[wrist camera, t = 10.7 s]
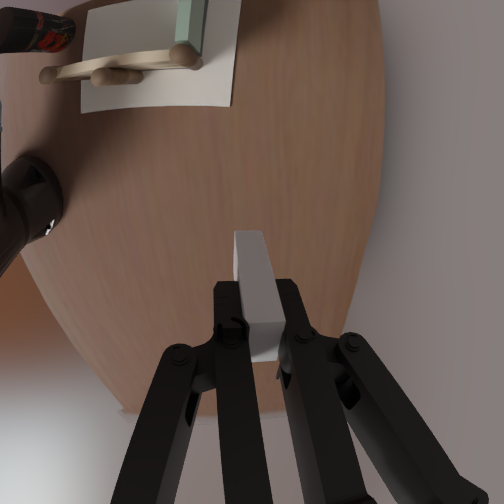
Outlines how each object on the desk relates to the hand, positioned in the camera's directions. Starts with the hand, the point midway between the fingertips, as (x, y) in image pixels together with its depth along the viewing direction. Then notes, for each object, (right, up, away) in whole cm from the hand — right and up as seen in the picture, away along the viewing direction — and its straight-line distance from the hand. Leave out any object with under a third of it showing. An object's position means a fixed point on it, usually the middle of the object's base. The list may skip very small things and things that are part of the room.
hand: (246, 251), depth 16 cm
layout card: (-13, +27, +11) cm, 32 cm away
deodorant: (-28, +32, +7) cm, 43 cm away
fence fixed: (-14, +24, +13) cm, 31 cm away
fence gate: (-6, +31, +8) cm, 32 cm away
